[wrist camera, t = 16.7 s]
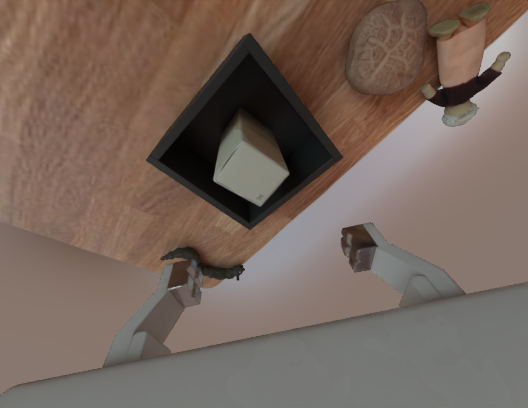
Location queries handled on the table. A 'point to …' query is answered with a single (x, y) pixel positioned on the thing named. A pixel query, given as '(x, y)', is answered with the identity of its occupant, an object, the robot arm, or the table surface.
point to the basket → (217, 118)
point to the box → (249, 159)
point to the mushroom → (387, 48)
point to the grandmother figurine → (462, 64)
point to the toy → (210, 272)
